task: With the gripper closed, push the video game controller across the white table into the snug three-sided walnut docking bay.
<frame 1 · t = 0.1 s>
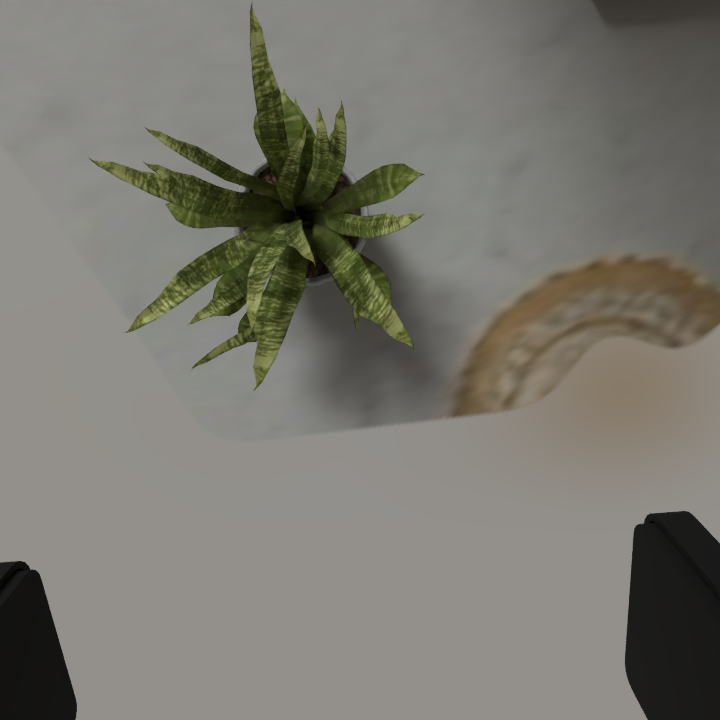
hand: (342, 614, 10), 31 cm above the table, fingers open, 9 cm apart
house plant: (295, 191, 38), on the table
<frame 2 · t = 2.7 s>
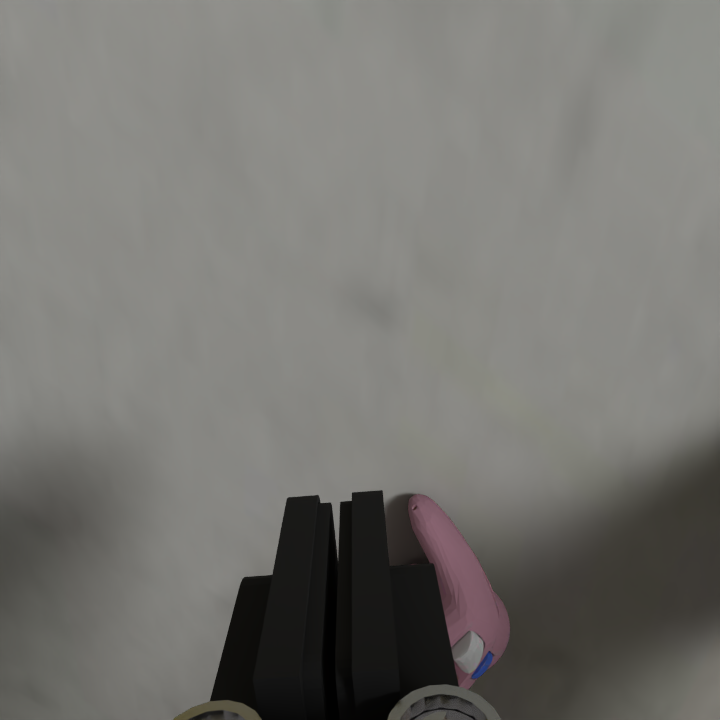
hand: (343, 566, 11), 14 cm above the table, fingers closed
video game controller: (379, 581, 28), on the table
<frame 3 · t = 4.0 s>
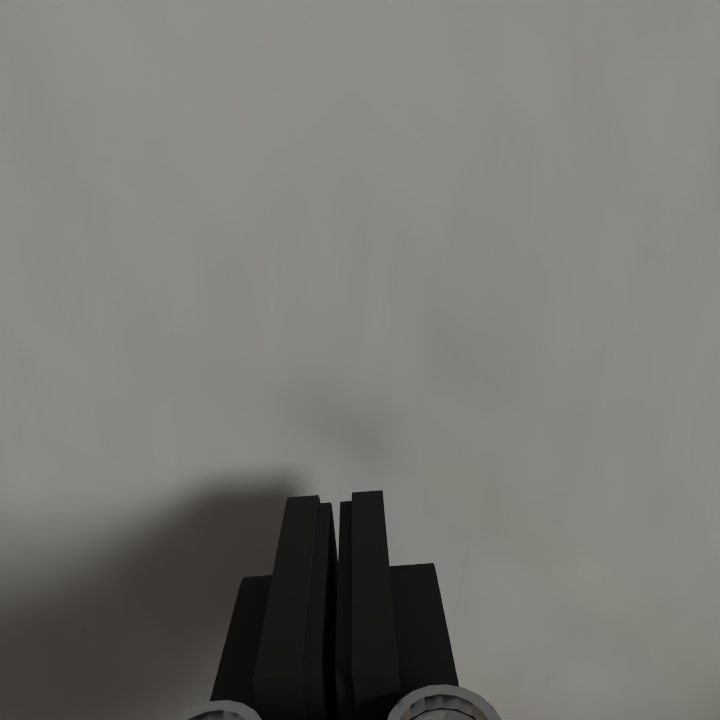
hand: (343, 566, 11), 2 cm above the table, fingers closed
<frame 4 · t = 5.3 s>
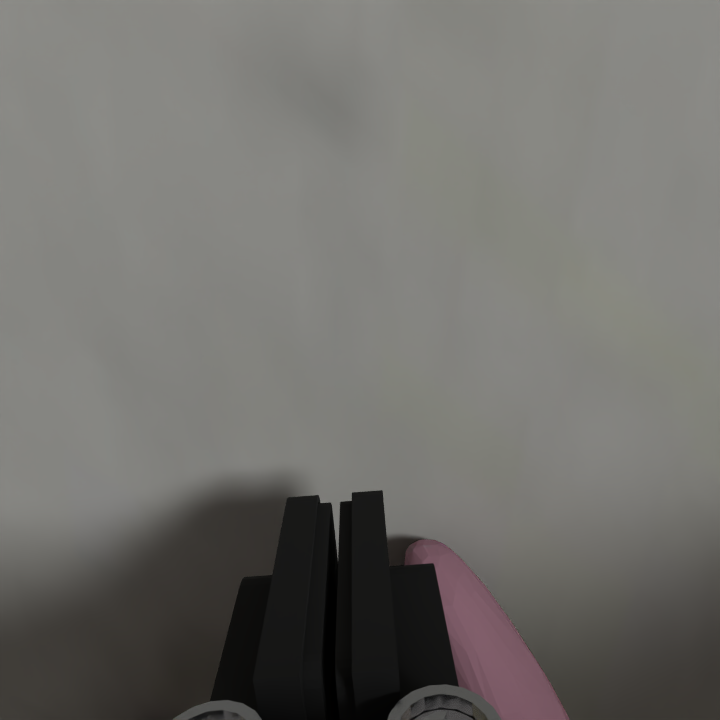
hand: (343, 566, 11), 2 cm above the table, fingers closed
video game controller: (343, 697, 15), on the table, touching gripper
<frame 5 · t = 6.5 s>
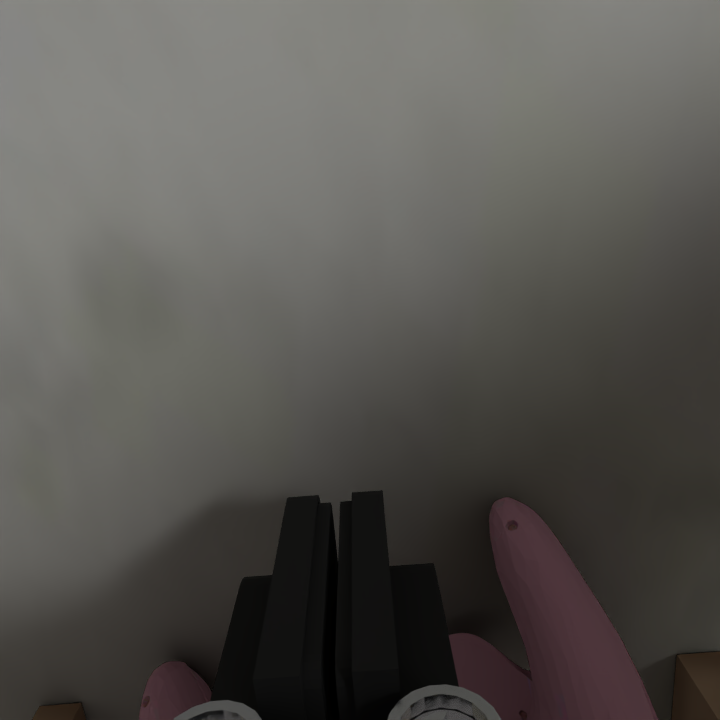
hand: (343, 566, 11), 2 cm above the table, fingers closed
video game controller: (386, 651, 15), on the table, touching gripper
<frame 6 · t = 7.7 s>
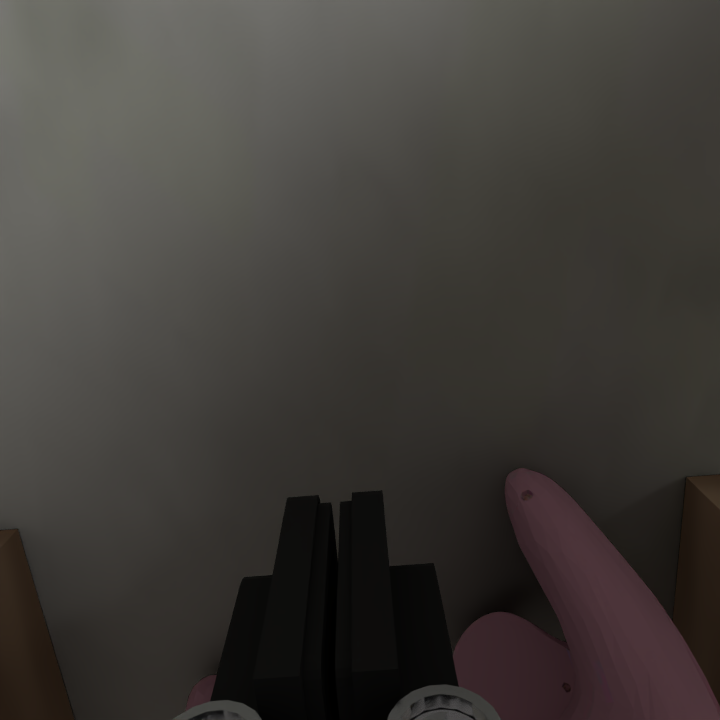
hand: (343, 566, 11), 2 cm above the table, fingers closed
video game controller: (423, 640, 14), on the table, touching gripper
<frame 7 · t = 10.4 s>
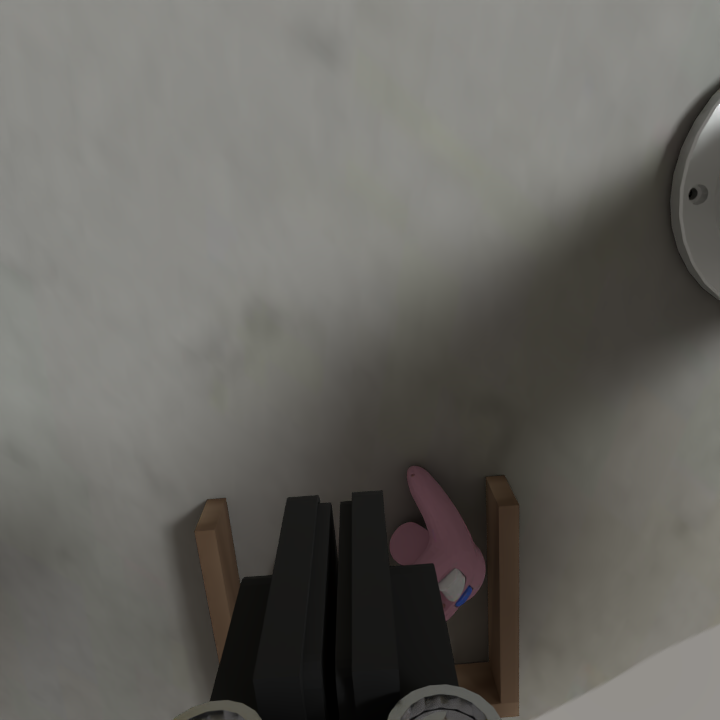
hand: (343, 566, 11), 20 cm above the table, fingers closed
video game controller: (380, 537, 35), on the table
dock bay: (364, 580, 35), on the table
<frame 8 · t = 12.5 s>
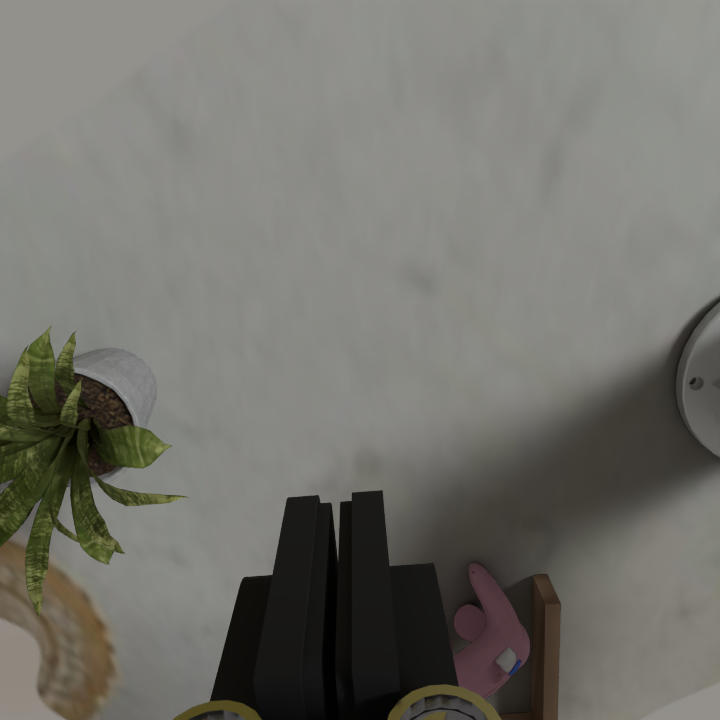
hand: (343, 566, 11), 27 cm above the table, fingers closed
video game controller: (445, 614, 45), on the table
dock bay: (436, 650, 45), on the table
house plant: (131, 374, 39), on the table
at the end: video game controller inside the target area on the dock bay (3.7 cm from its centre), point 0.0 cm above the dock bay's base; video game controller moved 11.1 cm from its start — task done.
